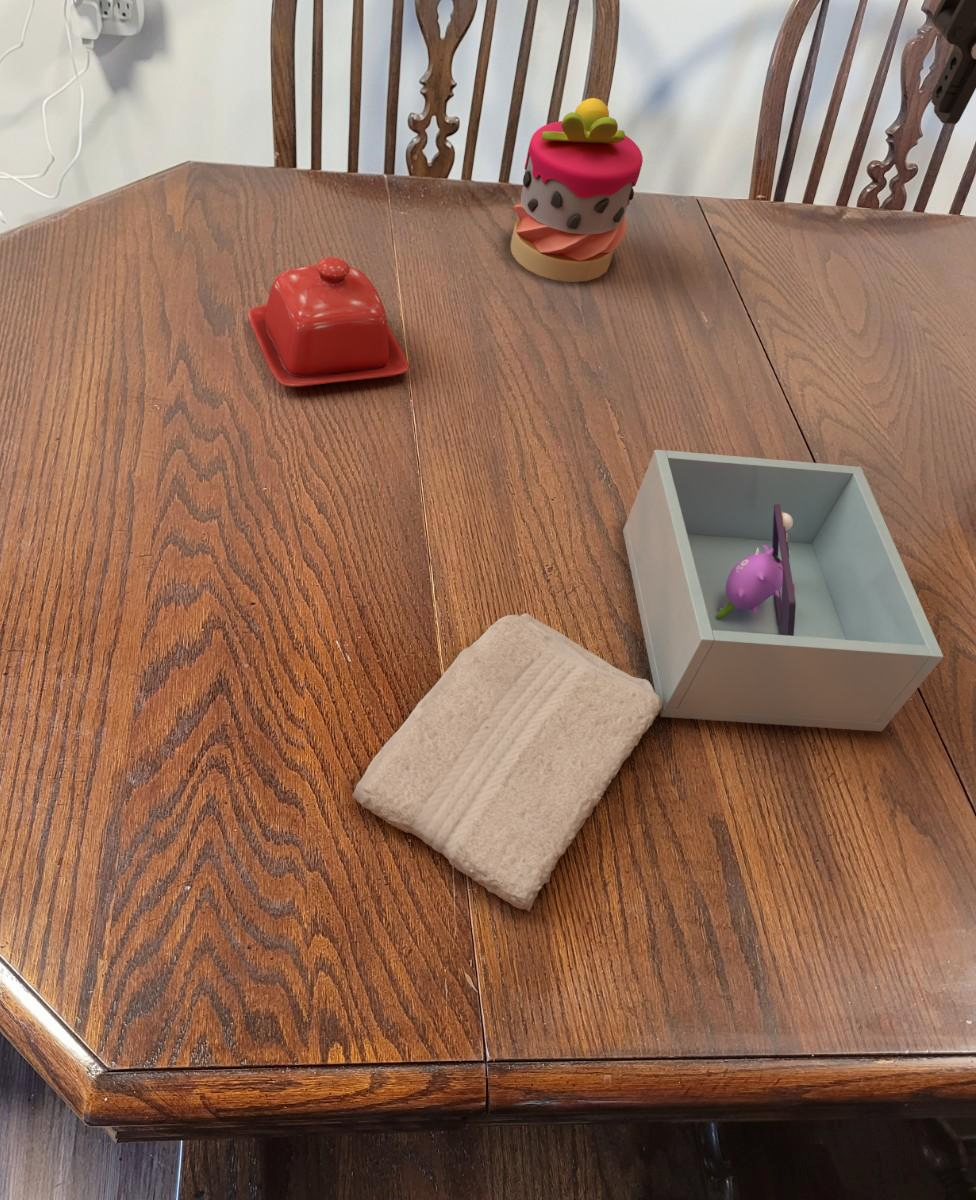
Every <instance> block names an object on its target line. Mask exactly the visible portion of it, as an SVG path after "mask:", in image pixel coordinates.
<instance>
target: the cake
mask: <svg viewBox="0 0 976 1200" xmlns="http://www.w3.org/2000/svg"><path fill="white" fill-rule="evenodd" d="M643 159H644V158H643V154H642V151H641V149H640V147H639V146H638V145H637V144H636V142H635V141H633V140H632V138H630V137H629V136H627V135H626V134H625V131H624V130H623V129H619V125H618V122H617V120H616V119H615V118H613V117H610V111H609V107H608V106H607V104H606V103H604V102H603V100H601V99H598V98H595V97H590V98H586V99H584V100H582V101H581V102H580V103H579V104H578V106H577V107H576V109H575V110H574V112H573V111H571V112H568V113H567V114H565V116H564V117H563V118H562V120H558V121H554V122H550V123H548V124H545V125H543V126H540V127H539V128H538V129H537V130H535V132H533V134H532V136H531V138H530V142H529V146H528V149H527V155H526V159H525V164H524V170H525V171H524V175H523V178H522V184H523V185H522V187H521V188H522V189H521V193H520V202H519V203H518V204H516V205H514V206H512V207H511V209H512V210H513V211H514V212H515V213H516V215H517V217H518V218H517V219H516V220H515V223H514V226H513V231H512V234H511V235H512V236H511V240H510V252H511V254H512V256H513V257H514V260H515V261H516V262H517V263H518V264H520V265H521V266H522V267H523V268H524V269H526V270H527V271H530V272H532V273H534V274H535V275H537V276H539V277H542V278H545V279H549V280H553V281H558V282H567V283H578V282H588V281H592V280H594V279H598V278H600V277H601V276H603V275H604V274H605V273H607V272H608V269H609V267H610V265H611V261H612V258H613V254H614V251H615V250H616V249H617V248H618V247H619V246H620V245H621V242H622V241H623V239H624V237H625V235H626V233H627V218H626V211H627V208H628V206H629V205H630V202H631V201H632V200H633V198H634V196H635V190H634V187H636V185H637V183H638V181H639V178H640V174H641V171H642V166H643V162H644V161H643Z"/></svg>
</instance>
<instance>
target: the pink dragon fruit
mask: <svg viewBox="0 0 976 1200" xmlns="http://www.w3.org/2000/svg"><path fill="white" fill-rule="evenodd" d="M792 525H793V519H792V517H791V516H790V515H789V514H787V513H782V511H781V507H780V504H775V505H774V513H773V537H772V549H771V550H770V549H769V547H768V546H767V545H763V547H764V548H765V550H766V553H764V554H763V553H761V552H759V548H758V547H757V550H756V553H755V554H754V555H751V556H748V557H746V558H744V559H743V560H741V561H740V562H739V563H737V564H736V566H735V567H734V568H733V569H732V571H731V572H730V574H729V576H728V579H727V582H726V595H727V597H728V600H729V603H728V604H727V605H724V606H725V608H724V609H722V608H720V609H721V611H720V612H719V613H716V614H717V617H718V618H719V619H721V618H722V617H723V616H726V615H727V614H728V613H729V612H731V611H732V610H734V609H735V608H737V609H740V610H750V609H752V610H753V612H754V613H755V614H756V613H757V611H758V605H760V604H761V603H762V602H764V601H765V600H766V599H768V598H769V597H771V596H772V595H774V596H775V603H776V610H777V617H778V624H779V631H780V635H788V636H794V624H795V609H796V600H795V592H794V591H795V589H794V584H793V581H792V575H791V569H790V563H789V555H790V550H789V548H788V543H787V538H788V535H787V533H786V531H788V530H789V529H790V528H791V527H792ZM779 544H780V551H781V557H782V559H779V558H778V545H779ZM781 587H782V601H781V595H780V589H781Z"/></svg>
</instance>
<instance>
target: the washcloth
mask: <svg viewBox="0 0 976 1200" xmlns="http://www.w3.org/2000/svg"><path fill="white" fill-rule="evenodd" d="M661 707H662V699H661V698H660V697H659V695H657V694H656V693H655V689H654V686H653V685H652V684H651V682H650V681H649V680H648V679H646V678H640V677H636V676H633V675H630V674H628V673H627V672H626V671H623V670H621V669H619V668H618V667H615V666H613V665H612V664H610V663H609V662H607V661H606V660H605V659H603V658H601V657H600V656H598V655H597V654H594V653H593V652H591V651H590V650H587V649H586V648H585V647H583V646H582V645H580V644H579V643H576V642H575V641H574V640H572V639H570V638H569V637H567V636H566V635H564V634H563V633H561V632H560V631H558V630H556V629H554V628H552V627H550V626H549V625H548V624H545V623H543V622H541V621H539V620H538V619H537V618H535V617H533V616H532V615H531V614H529V613H527V612H524V613H522V614H520V615H517V614H507V615H505V616H502V617H500V618H499V619H497V620H496V621H495V622H494V623H493V624H491V625H490V626H488V628H487V629H486V630H485V631H484V632H483V634H482V635H481V636H480V637H479V638H478V639H477V640H475V641H474V642H473V643H472V644H471V645H470V646H469V647H465V648H463V649H462V650H461V651H460V652H459V653H458V655H457V657H456V658H455V659H454V661H453V662H452V663H451V664H450V666H449V667H448V668H447V669H446V671H445V672H444V673H443V675H442V676H441V677H440V678H439V680H438V681H437V682H436V683H435V684H434V685H433V687H432V688H430V690H429V691H428V692H427V693H426V694H424V696H423V697H422V699H421V700H419V702H418V703H417V704H416V705H415V706H414V709H413V710H412V711H411V712H410V714H409V715H408V717H407V718H406V719H405V721H404V722H403V723H402V724H401V726H400V727H399V728H398V729H397V731H395V733H394V734H393V735H392V736H391V737H390V738H389V739H388V740H387V741H386V742H385V744H384V745H383V746H382V747H381V748H380V750H379V752H378V753H376V755H375V756H374V757H373V758H372V760H371V761H370V763H369V764H368V766H367V768H366V770H365V772H364V774H363V776H362V777H361V779H360V780H359V781H358V782H357V784H356V786H355V788H354V791H353V793H352V799H354V800H355V801H357V802H358V803H359V804H360V805H361V806H362V807H363V808H364V809H367V810H368V811H370V812H371V813H372V814H374V815H375V816H377V817H378V818H379V819H381V820H383V821H384V822H386V823H387V824H388V825H391V826H392V827H394V828H397V829H398V830H400V831H402V832H405V833H406V834H407V833H408V834H409V833H410V834H411V835H413V836H415V837H417V838H418V839H420V840H422V842H423V843H424V844H426V845H427V846H429V847H431V849H432V850H434V851H436V852H437V853H439V854H441V855H443V857H444V858H446V859H447V860H448V863H449V864H450V866H451V867H452V868H455V869H456V870H457V871H458V872H460V873H462V874H464V875H465V876H467V877H470V879H471V880H472V881H473V882H476V883H477V884H478V885H480V887H481V886H482V887H484V888H485V889H486V890H487V892H489V893H492V894H494V895H495V896H497V897H498V898H499V899H502V900H503V901H504V902H507V903H509V904H510V905H512V906H513V907H515V908H517V909H519V910H522V911H523V910H526V911H527V912H530V911H531V909H532V907H533V905H534V901H535V899H536V898H537V897H538V895H539V892H540V890H542V889H543V887H544V885H545V884H547V883H550V878H551V875H552V872H553V871H554V870H555V869H556V866H557V863H558V861H559V860H560V858H561V857H562V856H564V854H565V853H566V851H567V848H569V846H571V844H572V842H573V840H574V839H576V835H577V834H578V833H579V831H581V829H582V827H583V826H584V824H585V823H586V820H587V819H588V818H589V817H590V816H591V815H592V813H593V812H594V808H595V807H596V806H598V804H599V803H600V800H601V799H602V796H604V794H605V792H606V791H607V788H608V787H609V786H610V784H612V779H615V778H616V777H617V774H618V772H619V771H620V770H621V767H622V765H623V764H624V762H625V761H626V760H627V759H628V758H629V757H630V756H631V755H632V751H633V750H634V749H635V747H636V746H638V745H639V742H640V740H641V739H642V737H643V735H644V734H645V733H647V732H648V730H649V728H650V727H651V726H652V725H653V723H654V720H656V717H657V716H658V715H659V711H660V709H661Z"/></svg>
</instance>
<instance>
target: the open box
mask: <svg viewBox="0 0 976 1200" xmlns="http://www.w3.org/2000/svg"><path fill="white" fill-rule="evenodd" d="M775 504H780V507H781V511H782V513H787V514H789V515H790V516H791V517H792V519H793V525H792V527H791V528H790V529H789V530H788V531H786V533H787V535H788V538H787V543H788V548H789V550H790V555H789V563H790V569H791V575H792V581H793V584H794V589H795V591H794V592H795V600H796V609H795V624H794V636H788V635H780V631H779V624H778V617H777V610H776V603H775V596H774V595H772V596H771V597H769V598H768V599H766V600H765V601H764V602H762V603H761V604H760V605H758V611H757V613H756V614H755V613H754V612H753V610H752V609H750V610H740V609H737V608H735V609H734V610H732V611H731V612H729V613H728V614H727V615H726V616H723V617H722V618H721V619H719V618H718V617H717V614H716V613H719V612H720V611H721V609H720V608H722V609H724V608H725V606H724V605H727V604H728V603H729V600H728V597H727V595H726V582H727V579H728V576H729V574H730V572H731V571H732V569H733V568H734V567H735V566H736V564H737V563H739V562H740V561H741V560H743V559H744V558H746V557H748V556H751V555H754V554H755V553H756V550H757V547H758V548H759V552H761V553H763V554H764V553H766V550H765V548H764V547H763V545H767V546H768V547H769V549H770V550H771V549H772V537H773V513H774V505H775ZM622 534H623V538H624V543H625V548H626V552H627V559H628V563H629V568H630V574H631V578H632V583H633V588H634V593H635V598H636V602H637V607H638V613H639V618H640V623H641V629H642V632H643V638H644V642H645V647H646V648H645V649H646V652H647V658H648V663H649V667H650V672H651V673H650V674H651V677H652V682H653V689H654V692H655V693H656V694H657V695H659V697H660V698H661V699H662V707H661V709H660V711H659V712H658V714H659V716H660V717H661V718H672V719H673V718H674V719H687V720H688V719H689V720H701V721H702V720H704V721H718V722H719V721H720V722H731V723H732V722H735V723H748V724H763V725H776V726H777V725H778V726H792V727H809V728H823V729H824V728H825V729H826V728H827V729H838V730H839V729H840V730H852V731H853V730H854V731H868V732H883V730H884V729H885V728H886V727H887V726H888V724H889V723H890V722H891V721H892V720H893V718H894V717H895V716H896V715H897V714H898V713H899V712H900V711H901V709H902V707H904V705H905V704H906V703H907V702H908V700H909V699H910V698H911V697H912V696H913V694H914V693H915V692H916V691H917V690H918V688H919V687H920V686H921V685H922V684H923V682H924V681H925V680H926V679H927V678H928V677H929V675H931V673H932V672H933V670H934V669H935V668H936V667H937V665H938V664H940V662H941V661H942V659H943V658H944V654H943V652H942V650H941V647H940V645H939V643H938V641H937V638H936V636H935V633H934V631H933V628H932V626H931V624H930V622H929V620H928V617H927V615H926V613H925V611H924V608H923V606H922V603H921V601H920V599H919V597H918V594H917V592H916V589H915V587H914V585H913V583H912V580H911V578H910V576H909V574H908V570H907V569H906V566H905V564H904V562H903V560H902V558H901V555H900V553H899V551H898V549H897V546H896V544H895V541H894V539H893V537H892V534H891V533H890V530H889V528H888V525H887V523H886V520H885V518H884V516H883V514H882V512H881V509H880V507H879V505H878V503H877V500H876V498H875V495H874V493H873V491H872V489H871V486H870V484H869V481H868V479H867V477H866V475H865V473H864V470H863V468H862V466H856V465H855V466H854V465H845V464H832V463H821V462H811V461H799V460H798V461H797V460H786V459H785V460H784V459H774V458H762V457H760V458H759V457H753V456H752V457H750V456H741V455H740V456H739V455H728V454H714V453H703V452H691V451H680V450H679V451H678V450H664V449H654V451H653V454H652V456H651V458H650V460H649V463H648V466H647V469H646V472H645V474H644V476H643V479H642V481H641V484H640V487H639V489H638V491H637V494H636V497H635V500H634V501H633V505H632V507H631V509H630V511H629V515H628V517H627V519H626V522H625V524H624V527H623V529H622ZM778 558H779V559H782V557H781V551H780V544H779V545H778ZM780 595H781V601H782V587H781V589H780Z"/></svg>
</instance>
